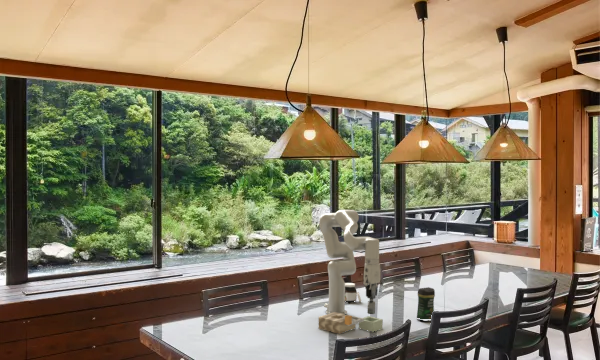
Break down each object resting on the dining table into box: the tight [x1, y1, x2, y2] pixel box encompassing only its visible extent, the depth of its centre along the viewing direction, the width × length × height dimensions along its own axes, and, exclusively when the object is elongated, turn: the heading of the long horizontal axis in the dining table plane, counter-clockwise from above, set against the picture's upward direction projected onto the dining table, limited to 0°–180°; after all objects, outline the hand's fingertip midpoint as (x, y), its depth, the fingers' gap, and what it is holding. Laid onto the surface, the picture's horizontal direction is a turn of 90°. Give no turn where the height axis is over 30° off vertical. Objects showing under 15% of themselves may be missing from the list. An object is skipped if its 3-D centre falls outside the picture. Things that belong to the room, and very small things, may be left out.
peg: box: [366, 283, 377, 315], centre depth 259 cm, size 4×4×16 cm
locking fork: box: [342, 314, 364, 326], centre depth 249 cm, size 10×14×5 cm
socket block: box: [318, 312, 356, 335], centre depth 259 cm, size 14×14×6 cm
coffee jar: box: [416, 286, 436, 319], centre depth 278 cm, size 10×8×19 cm
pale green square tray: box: [358, 315, 384, 333], centre depth 259 cm, size 9×9×5 cm
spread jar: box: [345, 282, 362, 303], centre depth 318 cm, size 12×11×12 cm
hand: (371, 295), depth 259 cm, fingers closed on peg, 4 cm apart
